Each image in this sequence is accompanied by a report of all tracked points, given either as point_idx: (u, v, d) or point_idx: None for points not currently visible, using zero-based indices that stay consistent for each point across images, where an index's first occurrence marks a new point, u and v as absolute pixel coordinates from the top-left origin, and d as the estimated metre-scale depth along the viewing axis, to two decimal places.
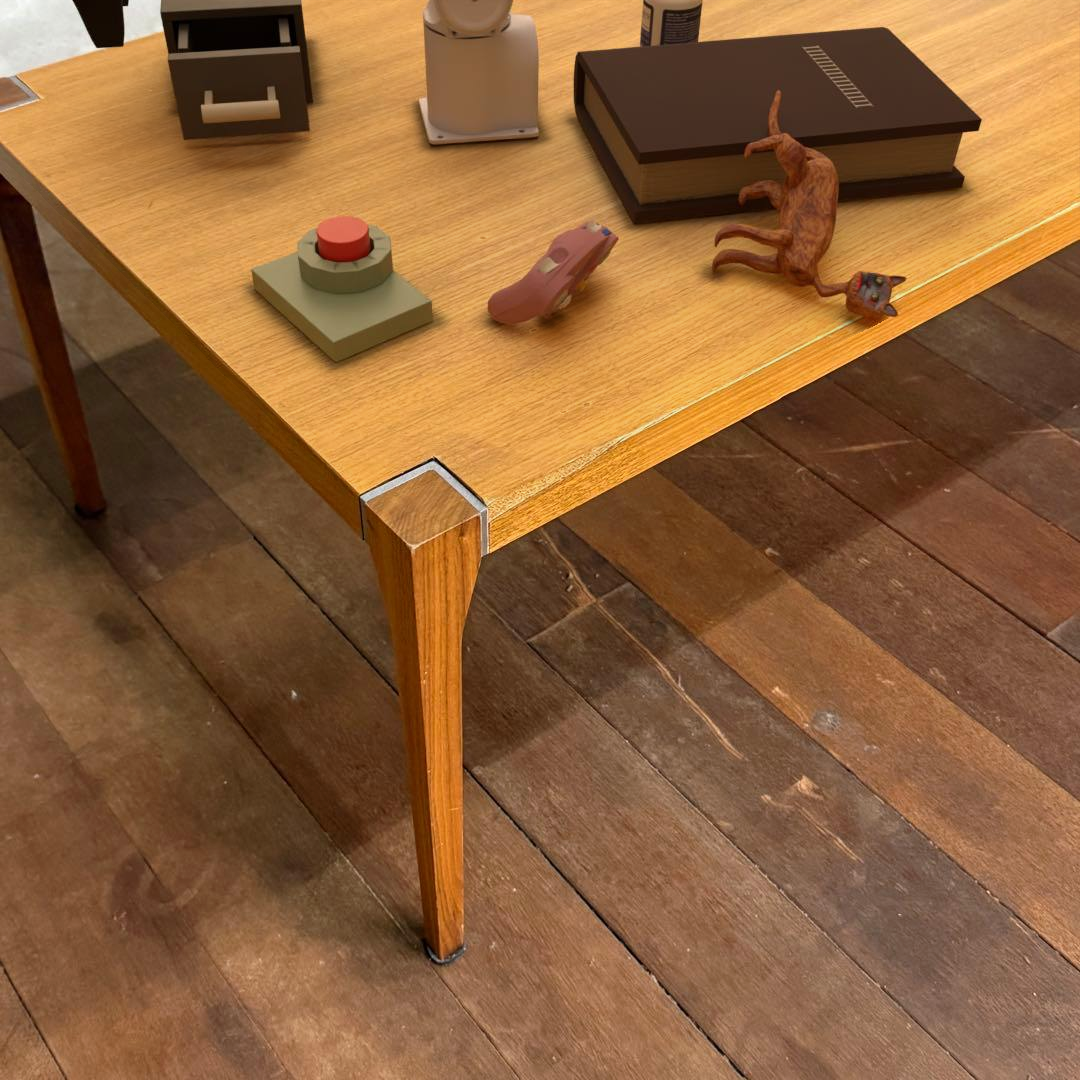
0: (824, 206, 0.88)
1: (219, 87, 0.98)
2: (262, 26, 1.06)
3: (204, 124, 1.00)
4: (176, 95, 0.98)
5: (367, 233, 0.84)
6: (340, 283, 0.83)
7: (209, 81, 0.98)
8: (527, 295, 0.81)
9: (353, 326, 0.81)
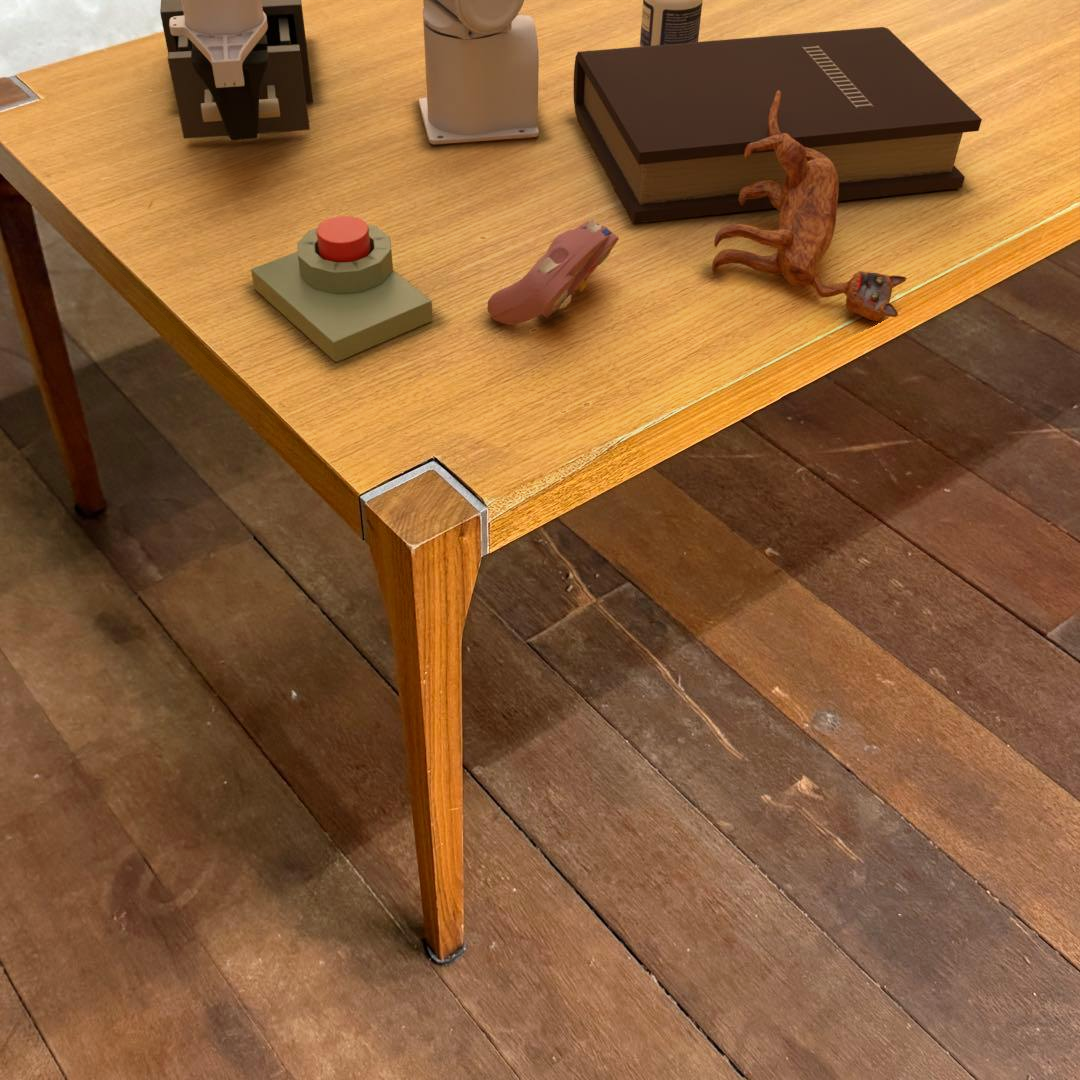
0: (824, 206, 0.88)
1: None
2: None
3: (204, 123, 1.00)
4: (176, 94, 0.98)
5: (367, 233, 0.84)
6: (340, 283, 0.83)
7: None
8: (527, 295, 0.81)
9: (353, 326, 0.81)
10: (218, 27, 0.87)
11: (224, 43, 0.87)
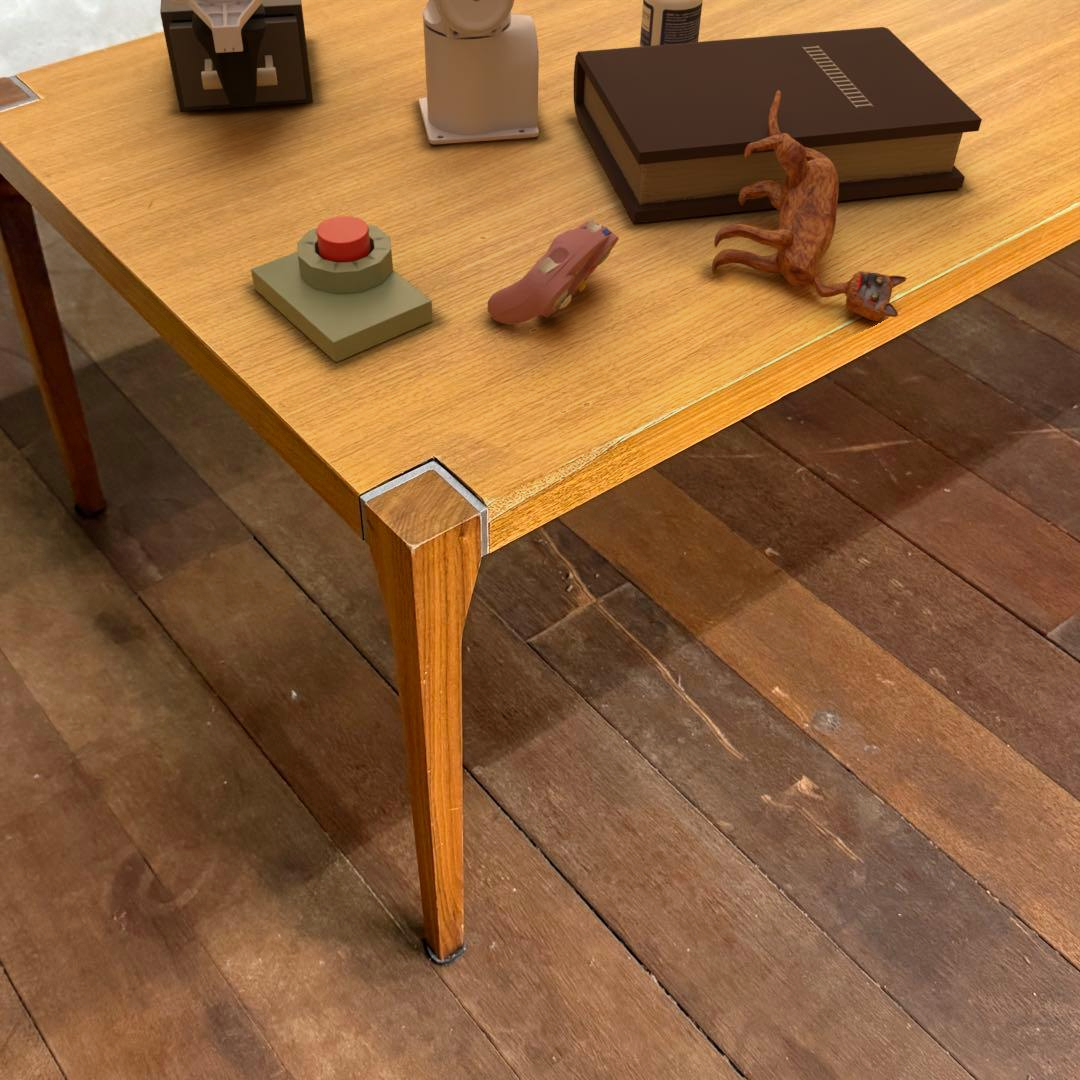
0: (824, 206, 0.88)
1: None
2: None
3: (204, 91, 1.04)
4: (177, 63, 1.02)
5: (367, 233, 0.84)
6: (340, 283, 0.83)
7: None
8: (527, 295, 0.81)
9: (353, 326, 0.81)
10: None
11: (223, 10, 0.91)
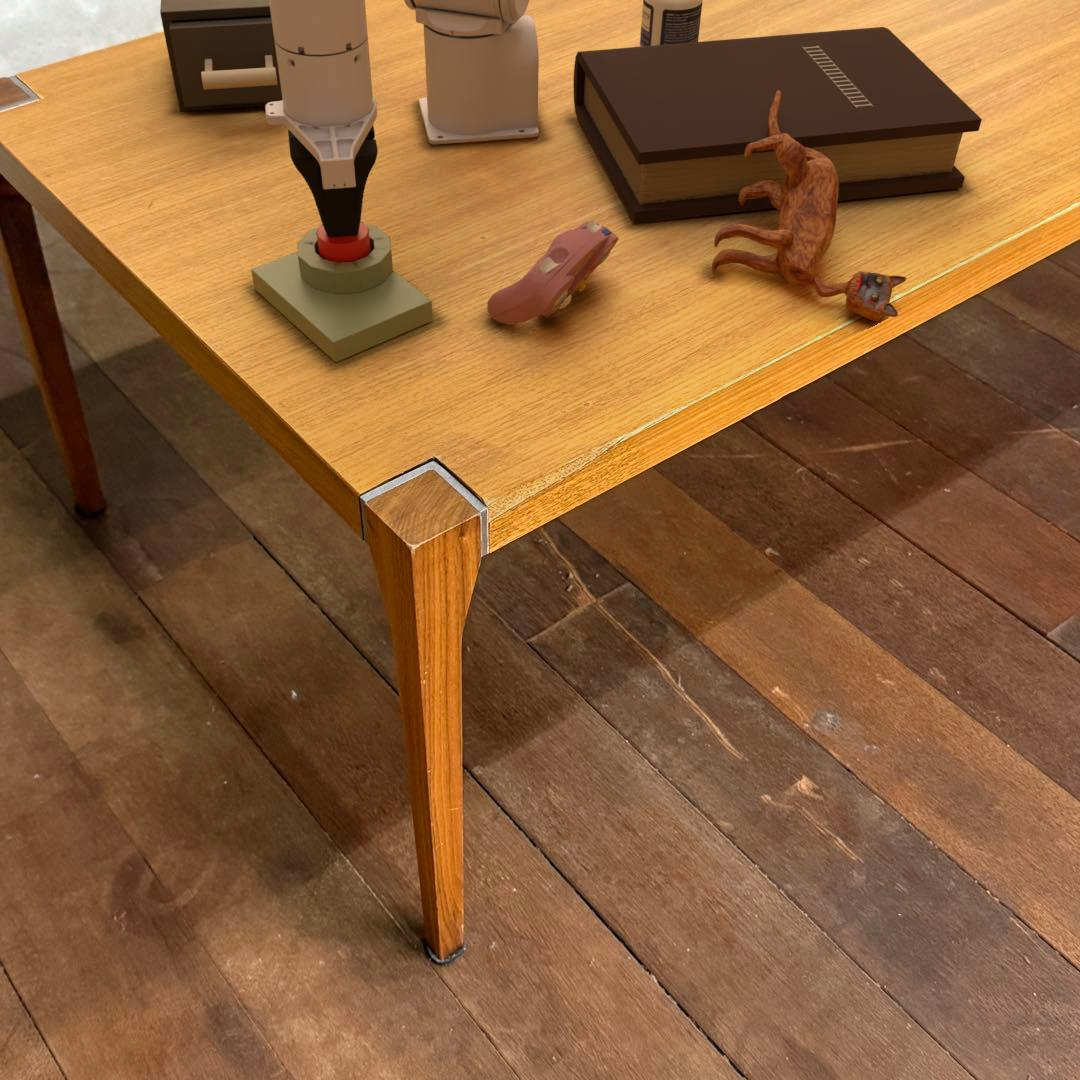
0: (824, 206, 0.88)
1: (219, 55, 1.02)
2: None
3: (204, 91, 1.04)
4: (177, 63, 1.02)
5: (367, 235, 0.84)
6: (340, 283, 0.83)
7: (209, 49, 1.02)
8: (527, 295, 0.81)
9: (353, 326, 0.81)
10: (325, 118, 0.75)
11: (332, 137, 0.75)
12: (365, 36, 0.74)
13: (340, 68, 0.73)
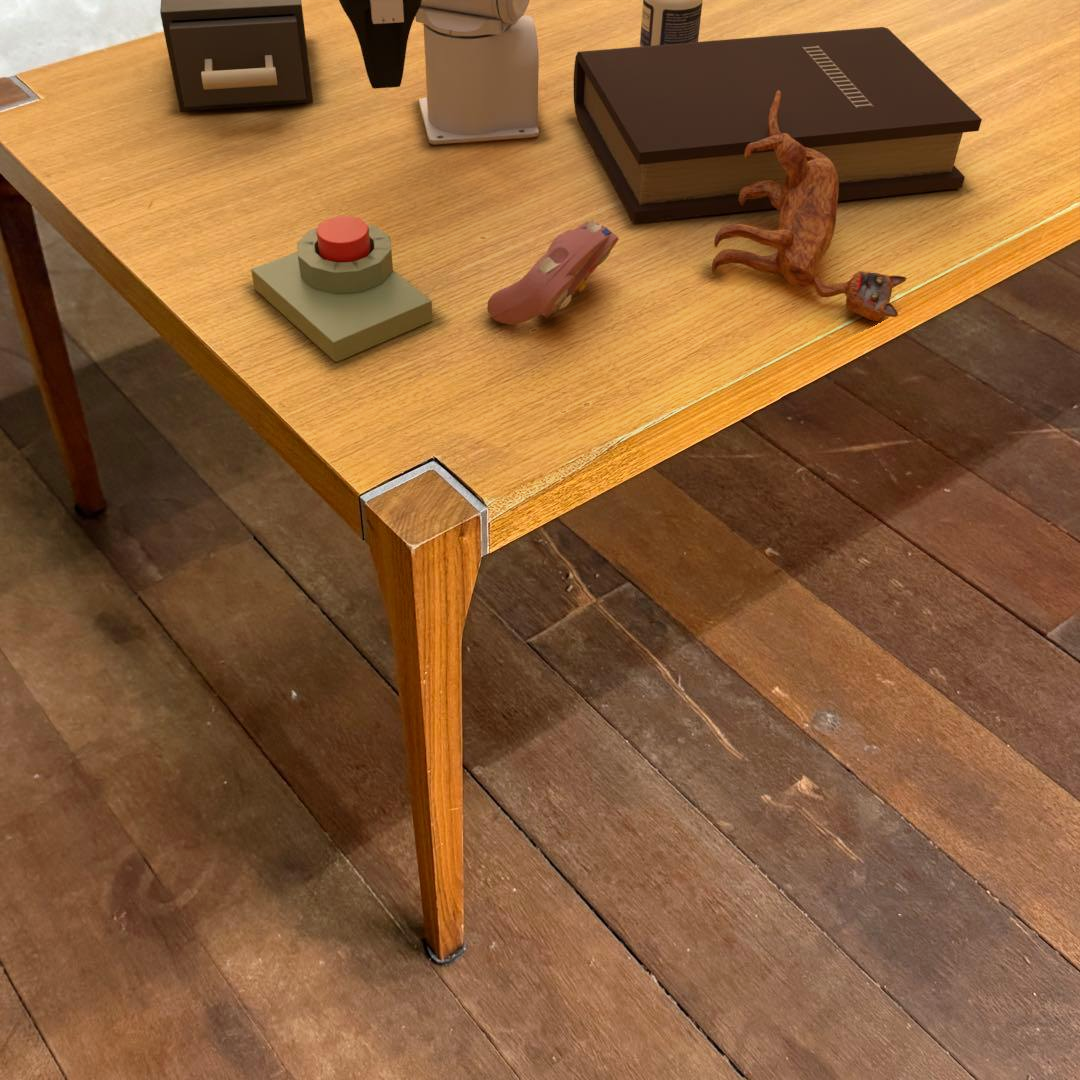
0: (824, 206, 0.88)
1: (219, 55, 1.02)
2: None
3: (204, 91, 1.04)
4: (177, 63, 1.02)
5: (367, 233, 0.84)
6: (340, 283, 0.83)
7: (209, 49, 1.02)
8: (527, 295, 0.81)
9: (353, 326, 0.81)
10: None
11: None
12: None
13: None
